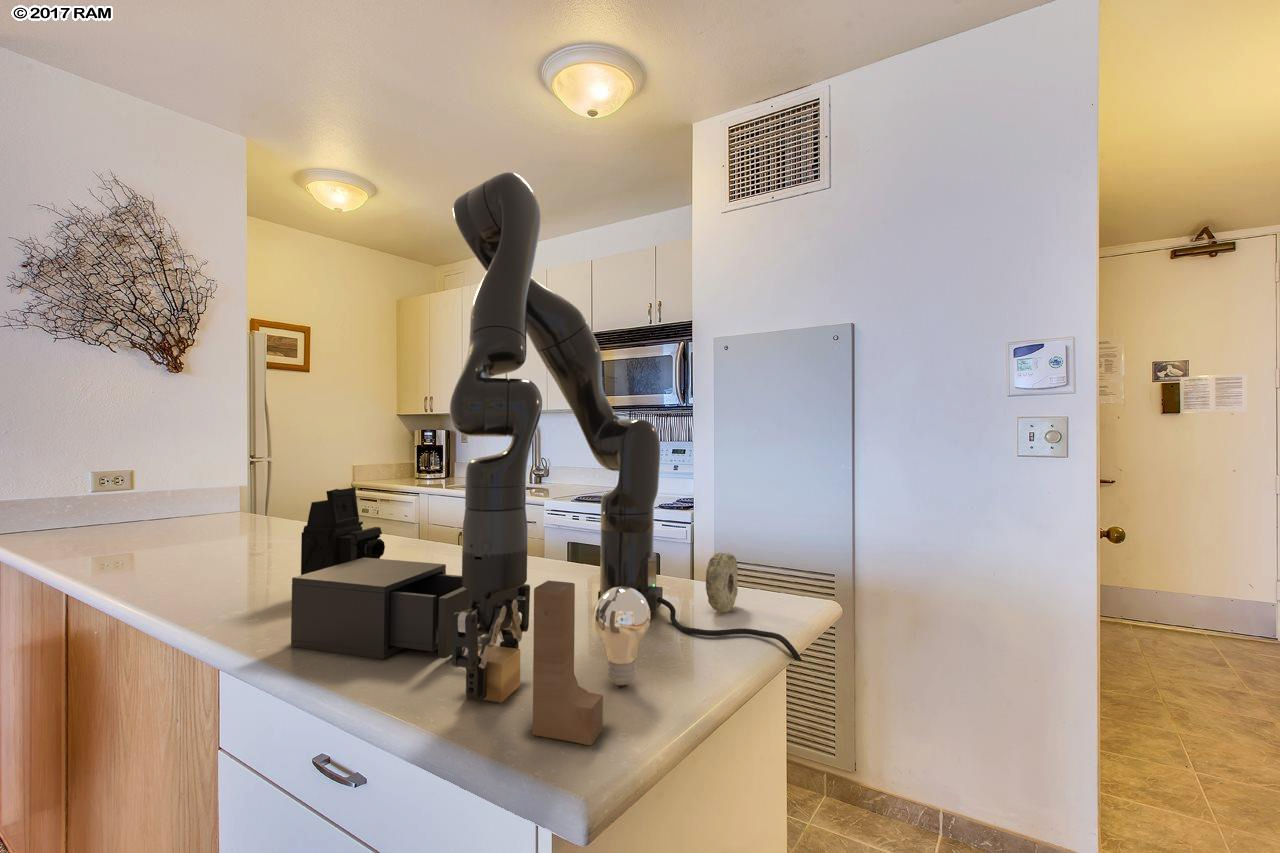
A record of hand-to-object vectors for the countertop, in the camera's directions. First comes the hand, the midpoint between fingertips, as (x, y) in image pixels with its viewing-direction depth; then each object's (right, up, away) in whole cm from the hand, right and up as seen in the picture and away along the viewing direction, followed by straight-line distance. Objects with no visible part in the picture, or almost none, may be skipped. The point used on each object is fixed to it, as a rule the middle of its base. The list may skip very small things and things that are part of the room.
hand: (493, 684), depth 67 cm
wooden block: (+10, -1, -9) cm, 14 cm away
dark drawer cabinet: (-23, -1, +18) cm, 29 cm away
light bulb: (+15, -1, +2) cm, 15 cm away
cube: (0, -1, 0) cm, 1 cm away
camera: (-37, -1, +38) cm, 53 cm away
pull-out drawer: (-11, 0, +15) cm, 19 cm away
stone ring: (+32, -2, +32) cm, 45 cm away
